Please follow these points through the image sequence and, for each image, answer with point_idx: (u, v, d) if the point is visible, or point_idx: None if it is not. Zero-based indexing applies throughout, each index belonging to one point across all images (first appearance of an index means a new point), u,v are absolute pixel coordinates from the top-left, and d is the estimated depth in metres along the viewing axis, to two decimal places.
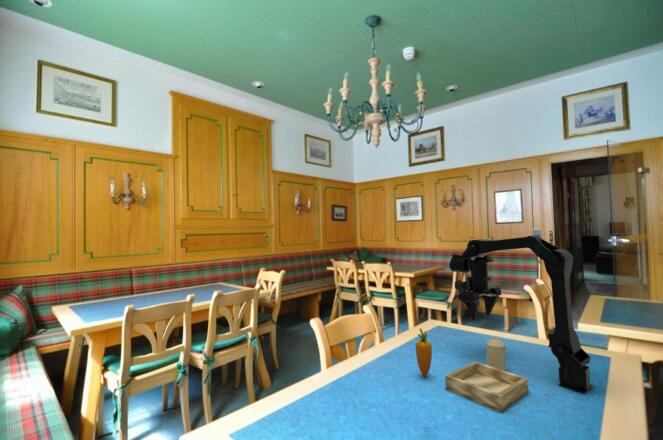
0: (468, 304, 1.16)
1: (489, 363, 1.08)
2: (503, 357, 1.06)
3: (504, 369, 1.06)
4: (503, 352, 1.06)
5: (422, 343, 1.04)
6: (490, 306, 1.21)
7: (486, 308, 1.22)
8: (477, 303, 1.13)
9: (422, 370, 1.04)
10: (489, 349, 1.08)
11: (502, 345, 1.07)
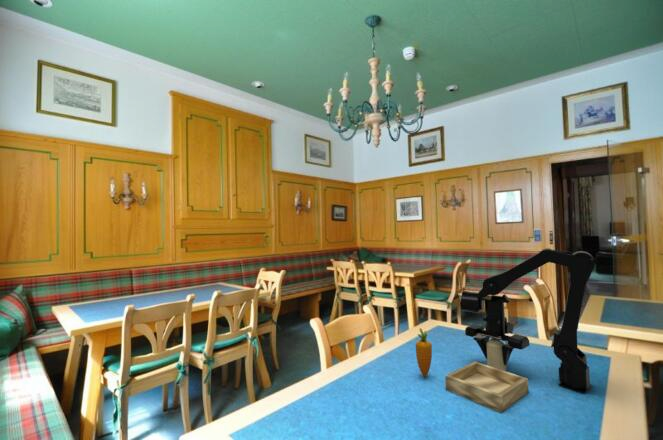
0: None
1: (489, 363, 1.08)
2: None
3: (504, 369, 1.06)
4: None
5: (422, 343, 1.04)
6: None
7: None
8: (477, 340, 1.11)
9: (422, 370, 1.04)
10: (489, 349, 1.08)
11: (502, 345, 1.07)
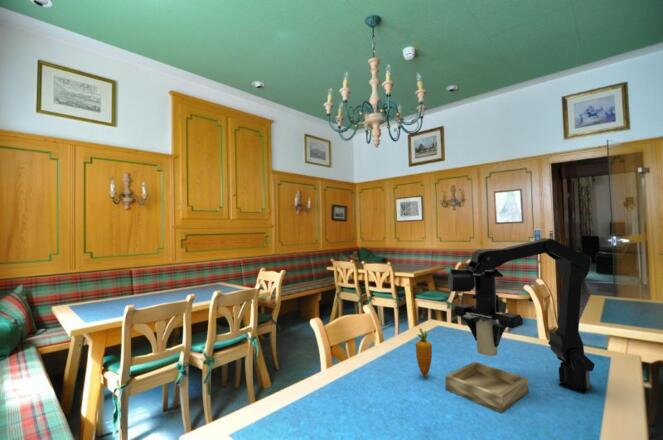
0: None
1: (478, 345, 0.99)
2: None
3: (495, 351, 0.97)
4: None
5: (422, 343, 1.04)
6: None
7: None
8: (466, 320, 1.02)
9: (422, 370, 1.04)
10: (478, 329, 0.98)
11: None
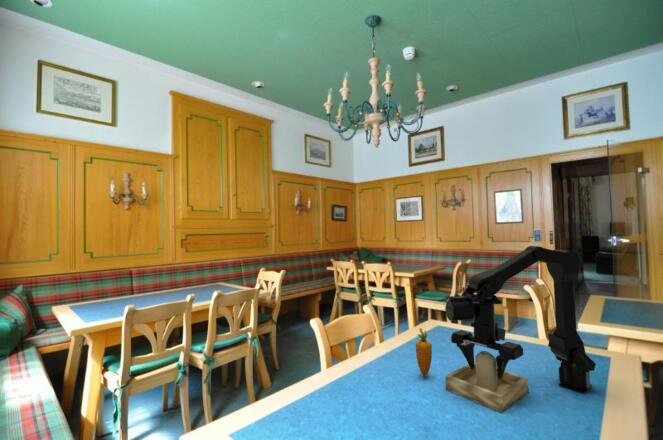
0: None
1: (478, 380, 0.94)
2: (494, 373, 0.93)
3: (495, 387, 0.93)
4: (494, 367, 0.93)
5: (422, 343, 1.04)
6: None
7: None
8: (460, 347, 0.98)
9: (422, 370, 1.04)
10: (478, 363, 0.94)
11: (493, 359, 0.93)
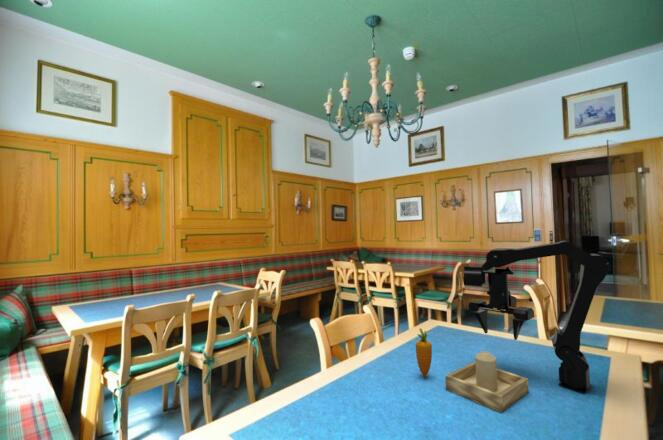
0: None
1: (478, 380, 0.94)
2: (494, 373, 0.93)
3: (495, 387, 0.93)
4: (494, 367, 0.93)
5: (422, 343, 1.04)
6: None
7: None
8: (475, 314, 1.10)
9: (422, 370, 1.04)
10: (478, 363, 0.94)
11: (493, 359, 0.93)
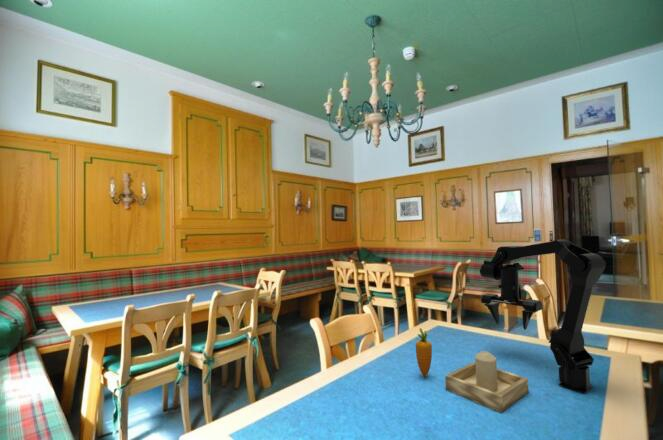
0: None
1: (478, 380, 0.95)
2: (494, 373, 0.93)
3: (495, 387, 0.93)
4: (494, 367, 0.93)
5: (422, 343, 1.04)
6: None
7: None
8: (488, 306, 1.19)
9: (422, 370, 1.04)
10: (478, 363, 0.94)
11: (493, 359, 0.93)
